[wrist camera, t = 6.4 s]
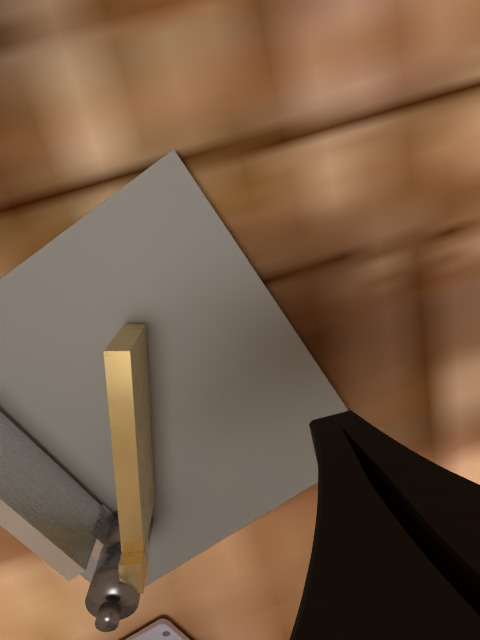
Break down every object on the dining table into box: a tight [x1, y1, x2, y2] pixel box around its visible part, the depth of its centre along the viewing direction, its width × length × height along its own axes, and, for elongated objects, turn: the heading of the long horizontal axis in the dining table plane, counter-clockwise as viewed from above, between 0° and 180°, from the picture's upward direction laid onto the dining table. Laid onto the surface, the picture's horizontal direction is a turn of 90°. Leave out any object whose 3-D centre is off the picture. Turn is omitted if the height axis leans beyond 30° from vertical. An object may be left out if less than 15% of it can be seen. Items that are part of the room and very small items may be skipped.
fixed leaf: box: [0, 411, 153, 632], centre depth 16 cm, size 13×3×5 cm, turn 34°
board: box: [0, 149, 348, 587], centre depth 19 cm, size 19×19×1 cm
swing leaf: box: [85, 324, 155, 620], centre depth 17 cm, size 3×13×4 cm, turn 178°
